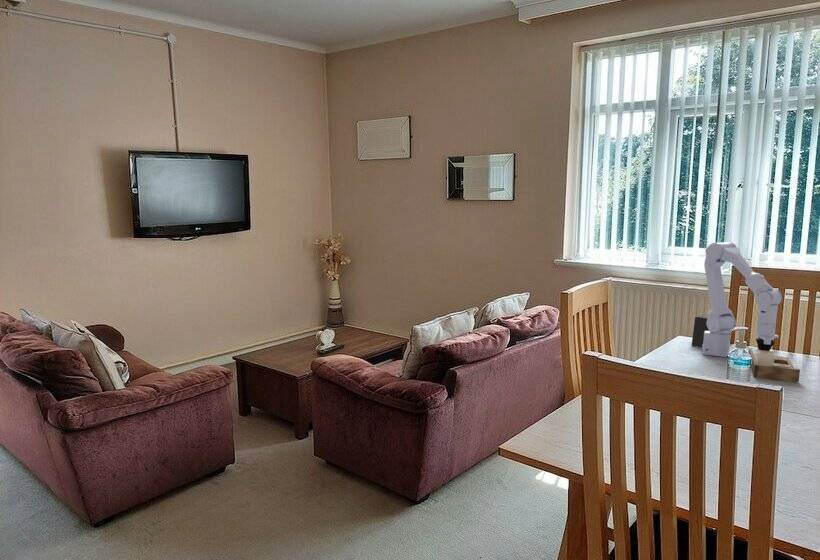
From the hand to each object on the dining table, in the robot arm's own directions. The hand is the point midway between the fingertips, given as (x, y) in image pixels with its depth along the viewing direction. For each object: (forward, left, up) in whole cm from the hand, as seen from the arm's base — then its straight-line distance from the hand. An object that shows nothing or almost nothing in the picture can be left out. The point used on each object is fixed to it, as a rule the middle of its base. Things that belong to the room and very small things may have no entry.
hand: (762, 358), depth 209 cm
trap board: (+3, -3, -3) cm, 5 cm away
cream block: (0, -4, -1) cm, 4 cm away
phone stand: (-20, +23, -3) cm, 31 cm away
